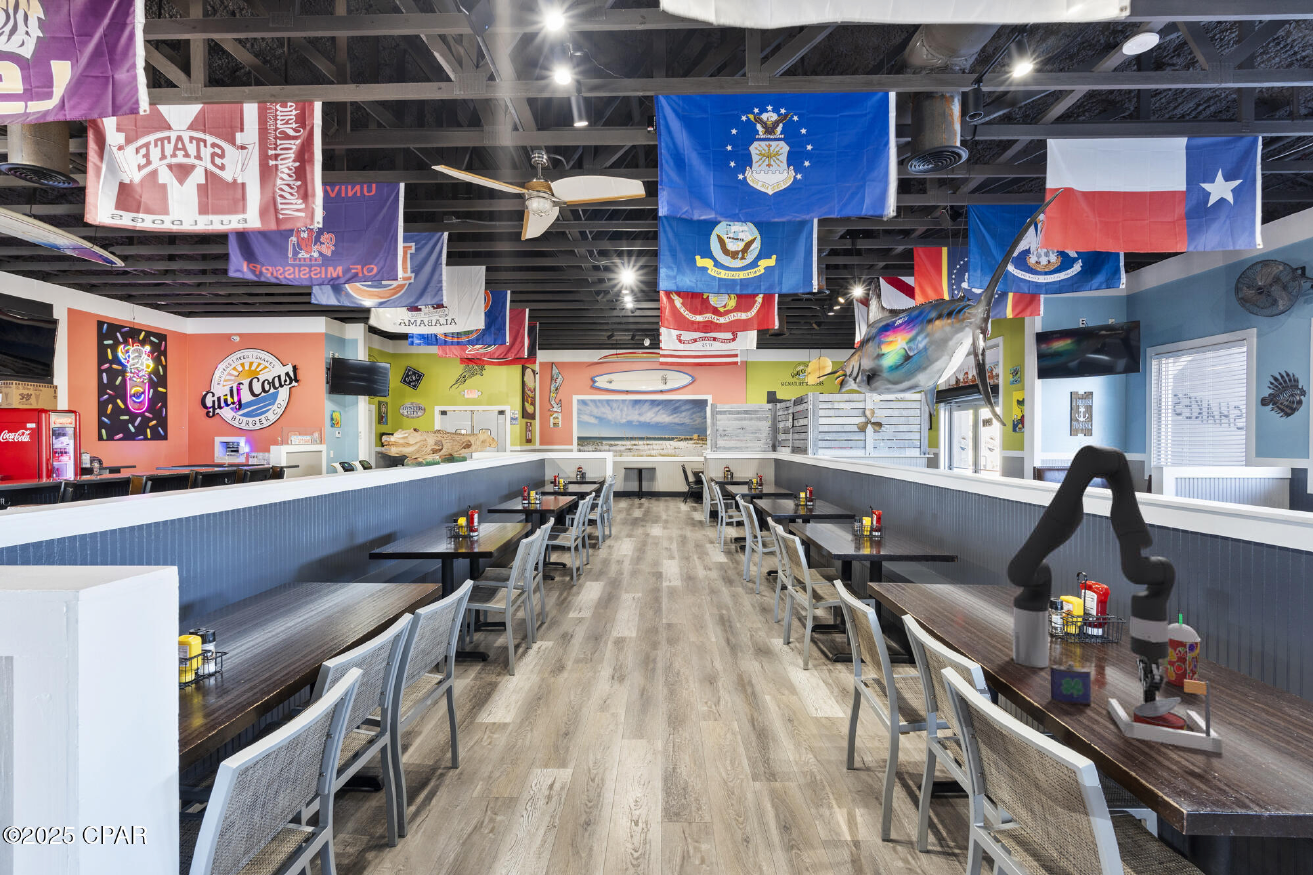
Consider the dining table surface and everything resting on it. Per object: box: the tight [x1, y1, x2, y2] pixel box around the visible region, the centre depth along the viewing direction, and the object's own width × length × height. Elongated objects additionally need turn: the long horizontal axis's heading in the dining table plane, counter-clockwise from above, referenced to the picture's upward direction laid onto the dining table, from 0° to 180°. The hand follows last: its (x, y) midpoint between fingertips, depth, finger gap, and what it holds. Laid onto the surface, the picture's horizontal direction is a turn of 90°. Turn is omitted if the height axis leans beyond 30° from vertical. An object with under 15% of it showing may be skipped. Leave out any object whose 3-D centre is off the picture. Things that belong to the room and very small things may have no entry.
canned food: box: [1133, 696, 1188, 731], centre depth 142 cm, size 11×10×10 cm
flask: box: [1049, 661, 1092, 706], centre depth 156 cm, size 9×3×11 cm, turn 74°
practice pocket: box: [1107, 680, 1223, 754], centre depth 141 cm, size 17×16×15 cm
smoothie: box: [1163, 613, 1201, 688], centre depth 170 cm, size 8×8×20 cm
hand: (1149, 704), depth 148 cm, fingers closed
